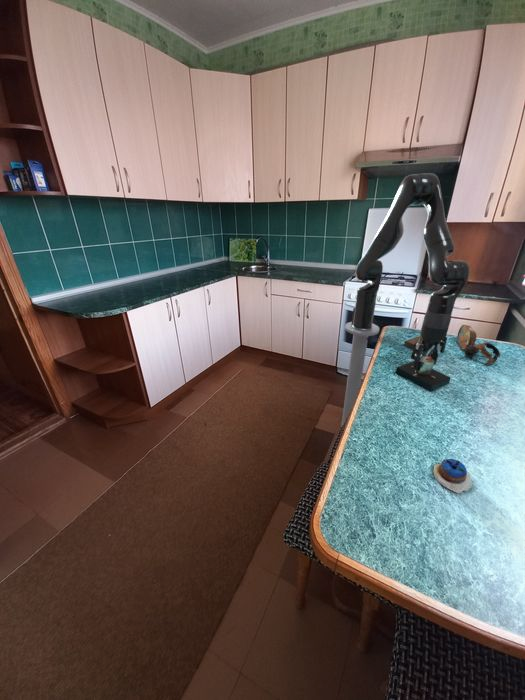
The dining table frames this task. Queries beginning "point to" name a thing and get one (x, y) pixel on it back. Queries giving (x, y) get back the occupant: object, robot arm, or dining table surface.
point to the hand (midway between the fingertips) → (424, 366)
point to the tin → (466, 336)
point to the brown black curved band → (483, 352)
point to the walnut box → (412, 341)
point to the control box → (423, 377)
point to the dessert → (453, 475)
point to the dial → (426, 366)
